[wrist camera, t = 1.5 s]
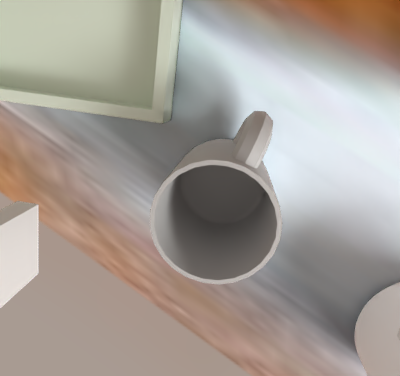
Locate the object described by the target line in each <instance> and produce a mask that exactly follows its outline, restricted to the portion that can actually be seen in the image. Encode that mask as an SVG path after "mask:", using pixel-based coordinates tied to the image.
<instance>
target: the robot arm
mask: <svg viewBox="0 0 400 376" xmlns="http://www.w3.org/2000/svg"><path fill="white" fill-rule="evenodd" d="M37 274H38V204H33V203H27V202H21V201H17V202H15V203H13V204H11V205H9V206H7V207H5V208H3V209H1V210H0V308H1V307H2V306H3V305H4V304H5V303H6V302H8V301H9V300H10V299H11V298H12V297H13V296H14V295H15V294H16V293H17V292H19V291H20V290H21V289H22V288H23V287H24V286H25V285H26V284H27V283H28V282H30V281H31V280H32V279H33V278H34V277H35V276H36V275H37ZM397 337H398V338H399V340H400V328H399V331H398V334H397Z"/></svg>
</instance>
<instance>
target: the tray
mask: <svg viewBox="0 0 400 376" xmlns="http://www.w3.org/2000/svg"><path fill="white" fill-rule="evenodd" d="M182 7H183V0H0V100H1V101H8V102H15V103H22V104H29V105H36V106H43V107H50V108H57V109H64V110H71V111H78V112H85V113H92V114H99V115H106V116H113V117H120V118H127V119H134V120H141V121H148V122H155V123H162V124H163V123H165V122H167V121H170V120H171V114H172V104H173V95H174V85H175V75H176V66H177V56H178V46H179V37H180V27H181V17H182Z"/></svg>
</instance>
